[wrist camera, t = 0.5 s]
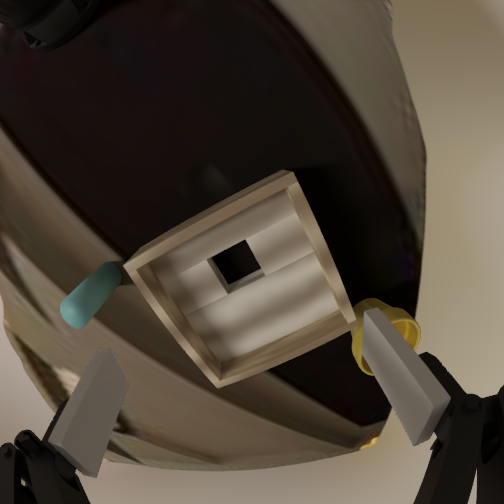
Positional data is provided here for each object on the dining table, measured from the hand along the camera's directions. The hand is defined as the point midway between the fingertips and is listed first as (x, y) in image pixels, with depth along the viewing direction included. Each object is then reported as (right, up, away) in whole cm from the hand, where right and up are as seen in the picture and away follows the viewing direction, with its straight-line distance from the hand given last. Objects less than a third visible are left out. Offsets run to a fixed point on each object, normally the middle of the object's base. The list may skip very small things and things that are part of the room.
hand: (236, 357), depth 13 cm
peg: (-21, +2, +25) cm, 33 cm away
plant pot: (+20, -5, +30) cm, 36 cm away
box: (0, +2, +26) cm, 26 cm away
